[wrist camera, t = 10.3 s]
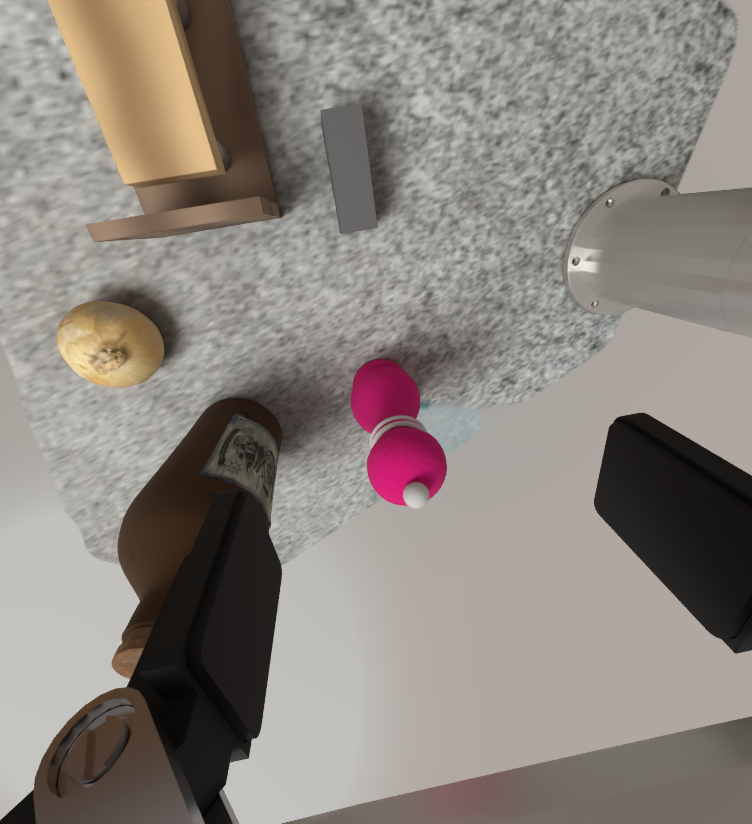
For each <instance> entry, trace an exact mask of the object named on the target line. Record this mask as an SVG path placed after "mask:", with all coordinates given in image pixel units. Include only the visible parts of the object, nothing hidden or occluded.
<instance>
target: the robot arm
mask: <svg viewBox="0 0 752 824" xmlns="http://www.w3.org/2000/svg"><path fill="white" fill-rule="evenodd" d="M563 277H564V282H565V286H566V289H567V291H568V293H569V295H570V297H571V298H572V299H573V300H574V302H575V303H576V304H578V305H579V306H580V307H582V308H583V309H586V310H588V311H591V312H594V313H598V314H617V313H622V312H624V311H627V310H630V309H632V308H634V307H636V308H640V309H643V310H647V311H651V312H655V313H659V314H663V315H667V316H670V317H674V318H678V319H681V320H685V321H689V322H693V323H697V324H701V325H704V326H708V327H712V328H716V329H719V330H724V331H727V332H732V333H736V334H739V335H743V336H748V337H751V338H752V188H743V189H732V190H722V191H710V192H700V193H689V194H680V193H679V192H678V191H677V190H676V189H675V188H674V187H673V186H672V185H670V184H668V183H666V182H664V181H662V180H657V179H638V180H633V181H628V182H625V183H623V184H620V185H617V186H615V187H614V188H612V189H610V190H609V191H607V192H605V193H604V194H603V195H601V196H600V197H599V198H598V199H597V200H596V201H594V202H593V203H592V204H591V205H590V207H589V208H588V209H587V210H586V211H585V212H584V213H583V215H582V216H581V218H580V219H579V221H578V222H577V224H576V225H575V227H574V229H573V231H572V234H571V236H570V238H569V240H568V244H567V247H566V250H565V254H564V261H563ZM594 506H595V509H596V511H597V513H598V514H599V515H600V516H601V517H602V518H603V520H604V521H605V522H606V523H607V524H608V525H609V526H610V527H611V528H612V529H613V530H614V531H615V532H616V533H617V534H618V536H619V537H620V538H621V539H622V540H623V541H624V542H625V543H626V544H627V545H628V546H629V547H630V548H631V549H632V551H633V552H634V553H635V554H636V555H637V556H638V557H639V558H640V559H641V560H642V561H643V562H644V563H645V564H646V565H647V567H648V568H649V569H650V570H651V571H652V572H653V573H654V574H655V575H656V576H657V577H658V578H659V579H660V580H661V581H662V583H663V584H664V585H665V586H666V587H667V588H668V589H669V590H670V591H671V592H672V593H673V594H674V595H675V596H676V598H677V599H678V600H679V601H680V602H681V603H682V604H683V605H684V606H685V607H686V608H687V609H688V610H689V611H690V613H692V615H693V616H694V617H695V618H696V619H697V620H698V621H699V622H700V623H701V624H702V625H703V626H704V627H705V629H706V630H707V631H709V632H710V633H711V634H712V635H714V636H715V637H717V638H720V639H722V640H723V641H724V642H725V643H726V644H727V645H728V646H729V647H730V648H731V649H732V650H733V652H734V653H741V652H745V651H750V650H752V476H751V475H749V474H748V473H746V472H744V471H743V470H741V469H739V468H738V467H736V466H734V465H733V464H731V463H729V462H728V461H726V460H724V459H722V458H721V457H719V456H717V455H716V454H714V453H712V452H711V451H709V450H707V449H705V448H704V447H702V446H700V445H699V444H697V443H695V442H694V441H692V440H690V439H689V438H687V437H685V436H683V435H682V434H680V433H678V432H677V431H675V430H673V429H672V428H670V427H668V426H666V425H665V424H663V423H661V422H660V421H658V420H656V419H655V418H653V417H651V416H650V415H648V414H645V413H637V414H631V415H626V416H620V417H618V418H616V420H615V421H614V423H613V424H611V426H610V427H609V430H608V435H607V440H606V445H605V450H604V455H603V459H602V464H601V469H600V474H599V479H598V484H597V489H596V493H595V498H594ZM281 577H282V569H281V563H280V560H279V558H278V556H277V553H276V551H275V548H274V546H273V543H272V541H271V538H270V536H269V533H268V531H267V528H266V526H265V524H264V521H263V519H262V516H261V514H260V511H259V509H258V506H257V504H256V501H255V499H254V496H253V494H252V493H251V492H246V493H245V491H244V490H243V489H242V488H236V489H231V490H225V491H220V492H217V493H216V495H215V496H214V499H213V501H212V503H211V506H210V508H209V510H208V513H207V515H206V517H205V520H204V522H203V524H202V527H201V529H200V532H199V534H198V536H197V539H196V541H195V543H194V546H193V548H192V550H191V552H190V553H188V554H187V555H186V556H185V558H184V559H183V561H182V563H181V565H180V567H179V570H178V572H177V574H176V576H175V579H174V581H173V583H172V586H171V588H170V590H169V592H168V595H167V597H166V599H165V601H164V604H163V606H162V608H161V611H160V613H159V615H158V617H157V620H156V622H155V624H154V626H153V629H152V631H151V633H150V635H149V638H148V640H147V642H146V645H145V647H144V649H143V651H142V654H141V656H140V658H139V660H138V663H137V665H136V667H135V670H134V672H133V674H132V676H131V679H130V681H129V683H128V685H127V687H125V688H117V689H113V690H111V691H109V692H106V693H104V694H102V695H100V696H98V697H97V698H95V699H94V700H93V701H91V702H89V703H88V704H86V705H85V706H84V707H83V708H82V709H80V710H79V711H78V712H77V713H76V714H75V715H74V716H73V717H72V718H71V719H70V720H69V721H68V722H67V723H66V724H65V726H64V727H63V728H62V729H61V730H60V732H59V733H58V734H57V735H56V737H55V738H54V739H53V741H52V743H51V744H50V746H49V748H48V749H47V751H46V753H45V754H44V756H43V758H42V760H41V763H40V766H39V769H38V771H37V774H36V777H35V783H34V790H33V791H32V792H31V793H29V794H28V795H27V796H26V797H25V798H24V799H23V800H22V801H21V802H20V803H19V804H18V805H16V806H15V807H14V808H13V809H12V810H11V811H10V812H9V813H8V814H7V815H6V816H5V817H3V818H2V819H1V820H0V824H239V822H238V820H237V818H236V816H235V814H234V812H233V809H232V807H231V805H230V803H229V801H228V799H227V797H226V795H225V792H224V790H223V787H224V786H225V785H226V780H227V775H228V769H229V764H230V762H233V761H239V760H243V759H248V758H249V753H250V747H251V740H252V739H254V738H257V737H258V735H259V733H260V730H261V725H262V718H263V710H264V703H265V696H266V688H267V681H268V674H269V665H270V659H271V652H272V644H273V637H274V630H275V622H276V614H277V608H278V600H279V593H280V586H281ZM282 824H752V717H747V718H742V719H738V720H733V721H729V722H724V723H719V724H715V725H710V726H705V727H701V728H697V729H692V730H687V731H683V732H678V733H674V734H669V735H665V736H660V737H656V738H651V739H647V740H643V741H638V742H633V743H628V744H624V745H619V746H615V747H610V748H606V749H601V750H597V751H592V752H588V753H583V754H580V755H575V756H570V757H565V758H561V759H557V760H552V761H548V762H543V763H539V764H534V765H530V766H525V767H521V768H516V769H512V770H507V771H503V772H499V773H494V774H490V775H486V776H481V777H477V778H473V779H468V780H464V781H459V782H455V783H450V784H446V785H441V786H437V787H433V788H429V789H424V790H420V791H415V792H411V793H406V794H402V795H398V796H393V797H389V798H385V799H380V800H376V801H372V802H367V803H362V804H358V805H354V806H351V807H346V808H342V809H338V810H334V811H330V812H326V813H322V814H318V815H314V816H310V817H306V818H303V819H298V820H294V821H290V822H286V823H282Z"/></svg>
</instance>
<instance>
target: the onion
mask: <svg viewBox="0 0 752 824" xmlns="http://www.w3.org/2000/svg"><path fill="white" fill-rule="evenodd" d="M57 344H58V348H59V351H60V353H61V355H62V356H63V358H64V359H65V361H66V362H67V363H68V365H69V366H70V367H71V368H72V369H73V370H74V371H75V372H76V373H77V374H79V375H80V376H81V377H83V378H85V379H87V380H89V381H91V382H93V383H95V384H98V385H102V386H107V387H114V388H122V387H128V386H132V385H136V384H140V383H142V382H144V381H146V380H147V379H149V378H150V377H151V376H152V375H153V374H154V373H155V372H156V371H157V370H158V368H159V367H160V365H161V363H162V361H163V357H164V343H163V339H162V336H161V334H160V332H159V330H158V328H157V327H156V326H155V325H154V323H153V322H152V321H151V320H150V319H149V318H147V317H146V316H145V315H144V314H142V313H141V312H139V311H138V310H136V309H134V308H131V307H129V306H126V305H123V304H119V303H113V302H105V301H94V302H87V303H84V304H81V305H79V306H77V307H75V308H74V309H72V310H71V311H70V312H68V313H67V314H66V315H65V316H64V317H63V319H62V320H61V322H60V324H59V326H58V330H57Z"/></svg>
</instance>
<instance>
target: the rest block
mask: <svg viewBox="0 0 752 824" xmlns="http://www.w3.org/2000/svg"><path fill="white" fill-rule="evenodd" d="M321 123H322V131H323V136H324V142H325V148H326V154H327V159H328V165H329V171H330V177H331V182H332V188H333V194H334V200H335V205H336V211H337V217H338V223H339V228H340V233H341V234H343V233H349V232H355V231H361V230H367V229H373V228H378V226H377V219H376V211H375V203H374V195H373V187H372V180H371V172H370V164H369V156H368V148H367V140H366V133H365V125H364V117H363V109H362V104H356V105H350V106H343V107H337V108H330V109H324V110H321Z"/></svg>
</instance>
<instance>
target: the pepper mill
mask: <svg viewBox="0 0 752 824" xmlns="http://www.w3.org/2000/svg"><path fill="white" fill-rule="evenodd" d="M351 408H352V411H353V414H354V417H355V419H356V420H357V422H358V423H359V424H360V426H361V427H362V428H363V429H364V430H366V431H367V432H369V433H371V436H370V440H369V447H370V454H369V456H368V459H367V470H368V476H369V479H370V482H371V484H372V486H373V488H374V489H375V491H376V492H377V493H378V494H379V495H380V496H381V497H382V498H384V499H385V500H387V501H388V502H391V503H393V504H396V505H403V506H410V507H411V508H416V509H417V508H422V507H424V506H425V505H426V504H427V502H428V500H429V499H430V498H432V497H433V496H434V495H435V494H436V493H437V492H438V491H439V489H440V488H441V486H442V484H443V482H444V480H445V476H446V470H447V464H446V457H445V454H444V452H443V449H442V447H441V446H440V444H439V443H438V441H437V440H436V439H435V438H434V437H433V436H431V435H430V434H429V433H427V431H426V429H425V427H424V426H423V424H422V423H421V422H419V421H418V420H417V419H416V418H417V416H418V413H419V408H420V395H419V391H418V388H417V386H416V384H415V382H414V380H413V379H412V378H411V377H410V376H409V375H408V374H407V373H405V372H404V371H403V370H402V368H401V367H400V366H399V365H398V364H396V363H395V362H393V361H390V360H386V359H376V360H372V361H370V362H368V363H366V364H364V365H363V366H362V367H361V368H360V369H359V370H358V371H357V373H356V375H355V377H354V381H353V390H352V393H351Z"/></svg>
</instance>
